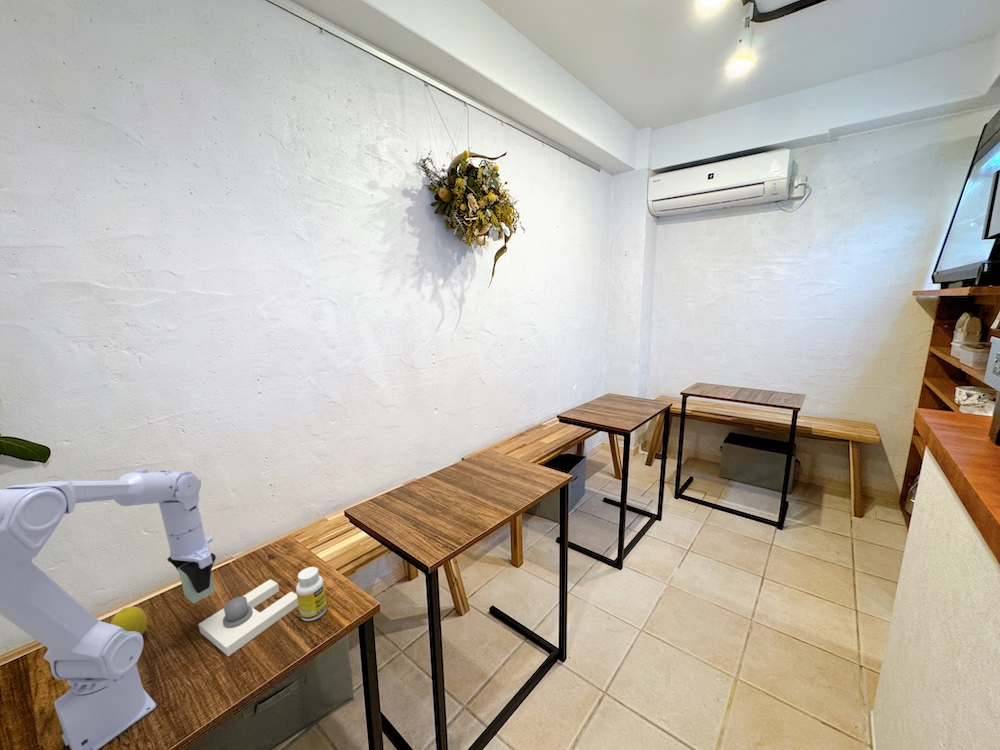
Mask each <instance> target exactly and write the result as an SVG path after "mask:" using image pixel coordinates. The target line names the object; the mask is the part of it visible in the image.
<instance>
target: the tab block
mask: <svg viewBox="0 0 1000 750" xmlns="http://www.w3.org/2000/svg"><path fill="white" fill-rule="evenodd" d="M190 562H191V561H190ZM188 563H189V562H188ZM186 564H187V563H186ZM184 565H185V564H184ZM182 566H183V565H182ZM180 567H181V566H180ZM180 567H178V570H179V571H178V570H177V571H178V573H179V577H180V581H181V585H182V590H183V594H184V597H185V598H186V599H187V600H188V601H189V602H191V603H192V604H193V605H194V604H195V603H197V602H199V601H201V600H203V599H204V598H206V597H208V596H210V595H211V594H213V593H214V592H216V587H215V583H214V579H213V577H214V576H213V574H212V572H211V576H210V586H209V588H207V589H206V590H204V591H202V592H200V593H197V592H196V591H195V589H194V587H193V585H192V583H191V581H190V579H189V577H188V576H187V575H186V574H185V573H184V572H183V571H181V570H180Z"/></svg>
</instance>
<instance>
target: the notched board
mask: <svg viewBox="0 0 1000 750" xmlns="http://www.w3.org/2000/svg"><path fill="white" fill-rule="evenodd" d="M278 592H280V586H279V584H278V582H276V581H274V580H273V579H272V578H270V579H267V581H265V582H264V583H262V584H260V585H259V586H257V587H256V588H254V589H252V590H250V591H249V592H247V593H245V594H244V595H243V596H242V595H241V596H236V597H234V598H232V599H230V600H229V601H227V602H226V603H225V604H224V606H223V608H222V609H219V611H217V612H215V613H214V614H212V615H211V616H209V617H208V618H205V619H204V620H203V621H201V622H199V623H198V624H197V625H198V629H199V632H200V634H201V635H202V636H204V637H205V638H206V639H207V640H208V641H210V643H212V644H213V645H214V646H215V647H217V648H218V649H219V650H220V651H221V652H222V653H224V655H226V656H227V657H230V656H231V655H233V654H234V653H235V652H237V651H238V650H239V649H240V648H242V647H244V646H245V645H247V644H248V643H249V642H250V641H252V640H253V639H255V638H256V637H257V636H259V635H260V634H261V633H263V632H265V630H267V629H268V628H269V627H271V626H273V625H274V624H275V623H277V622H278V621H279V620H281V619H282V618H284V617H285V616H286V615H288V614H289V613H290V612H292V611H293V610H295V609H296V608H297V607H299V605H298V599H297V593H296V592H293V591H290V592H288V593H287V594H285V595H284V596H282V597H281V598H279V599H278V600H276V601H275V602H274V603H272V604H270V605H268V607H266V608H264V609H263V610H262V611H258V610H257V609H255V608H257V606H258V605H259V606H260V604H262V603H264V601H265V602H266V600H268V599H270V598H271V597H272V596H273V595H275V594H276V593H278Z"/></svg>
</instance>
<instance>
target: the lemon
mask: <svg viewBox="0 0 1000 750" xmlns="http://www.w3.org/2000/svg"><path fill="white" fill-rule="evenodd" d="M109 624H113V625H116V626H119V627H122V628H123V629H124V630H125V631H128V632H130V631H136V632H139V633H140V634H141V635H142V636H143V634H144V633H145V631H146V629H147V625H148V617H147V614H146V612H145V611H144V610H143V609H142V608H141V607H138V606H127V607H124V608H122V609H121V610H119V611H118V612H117V613H116V614H115V615H114V616H113V617H112V619H111V620H110V623H109Z"/></svg>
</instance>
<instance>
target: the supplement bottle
mask: <svg viewBox="0 0 1000 750" xmlns="http://www.w3.org/2000/svg"><path fill="white" fill-rule="evenodd" d="M297 579H298V583H297V584H296V586H295V594H297V599H298V605H299V606H298V610H299V616H300V619H301V620H302V621H305V622H311V621H315V620H317V619H319V618H321V617H322V616H323V615H324V614H325V613H326V611H327V608H328V602H327V596H326V590H325V584H324V583H325V582H324V579H323V577H322V576H321V575H320V572H319V568H317V567H316V566H309V567H306V568H303V569H302V570H301V571H299V572H298V574H297Z"/></svg>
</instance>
